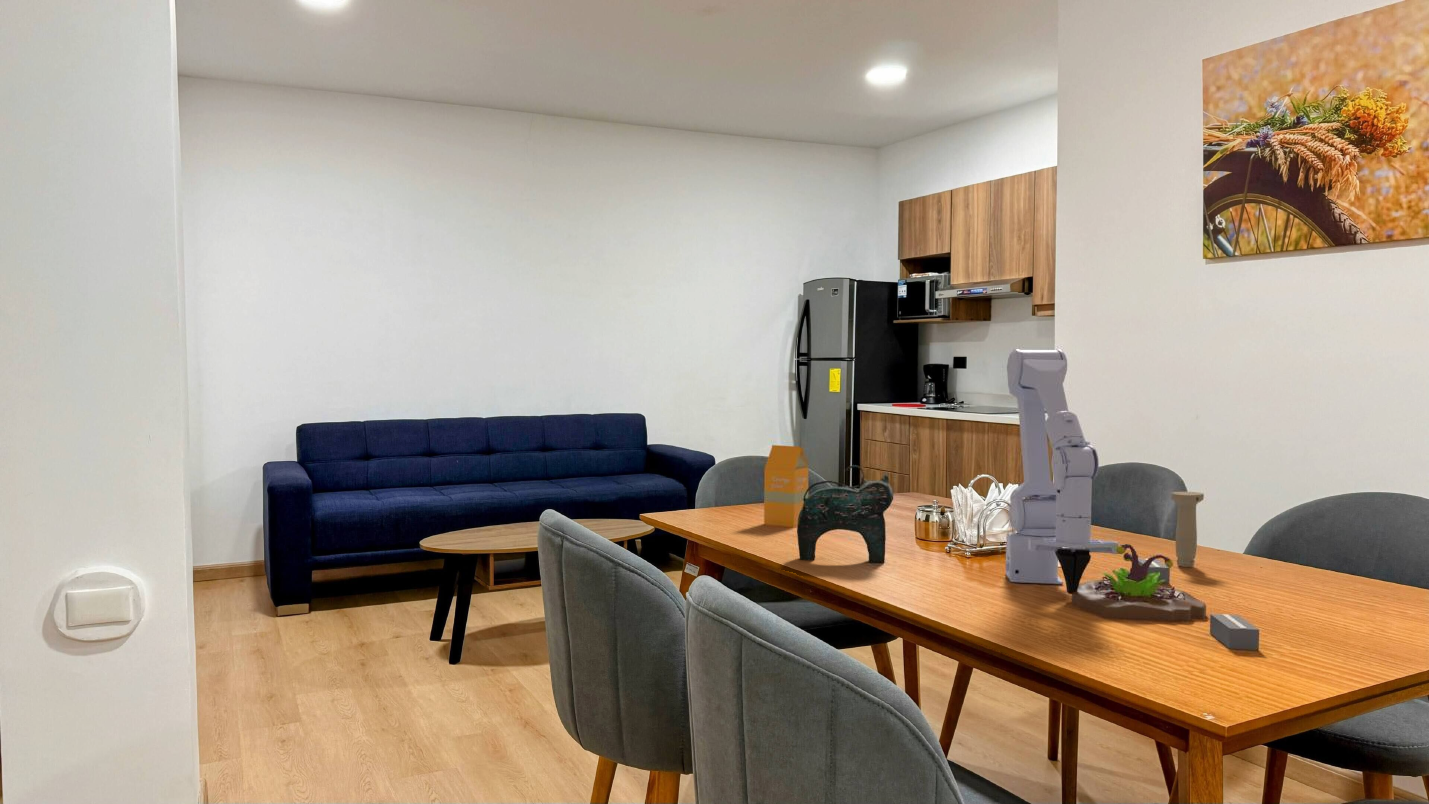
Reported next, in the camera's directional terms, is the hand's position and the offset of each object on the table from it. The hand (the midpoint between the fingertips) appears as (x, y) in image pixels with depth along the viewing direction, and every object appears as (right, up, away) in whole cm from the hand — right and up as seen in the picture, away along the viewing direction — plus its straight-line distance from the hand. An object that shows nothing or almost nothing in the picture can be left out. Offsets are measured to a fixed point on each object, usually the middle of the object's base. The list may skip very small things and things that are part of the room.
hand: (1071, 592), depth 166 cm
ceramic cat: (-35, 0, +33) cm, 48 cm away
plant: (+9, -2, -3) cm, 10 cm away
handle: (+34, -1, +29) cm, 45 cm away
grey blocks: (+19, -2, -3) cm, 19 cm away
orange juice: (-44, +2, +78) cm, 90 cm away
